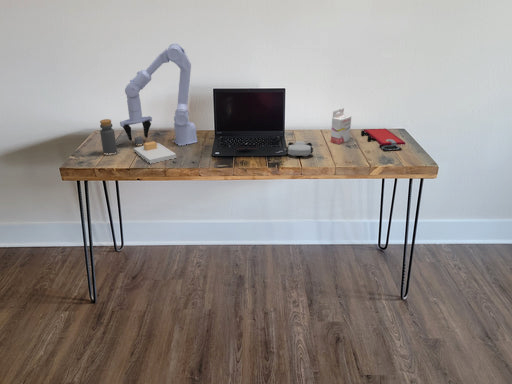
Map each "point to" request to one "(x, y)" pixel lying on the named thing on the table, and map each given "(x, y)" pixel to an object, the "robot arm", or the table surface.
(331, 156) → the table surface
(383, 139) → the red board with handle
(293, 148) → the robot toy
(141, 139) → the cover
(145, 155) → the white layered base plate
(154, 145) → the slider
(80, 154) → the table surface
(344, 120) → the ink cartridge box
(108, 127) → the bottle
